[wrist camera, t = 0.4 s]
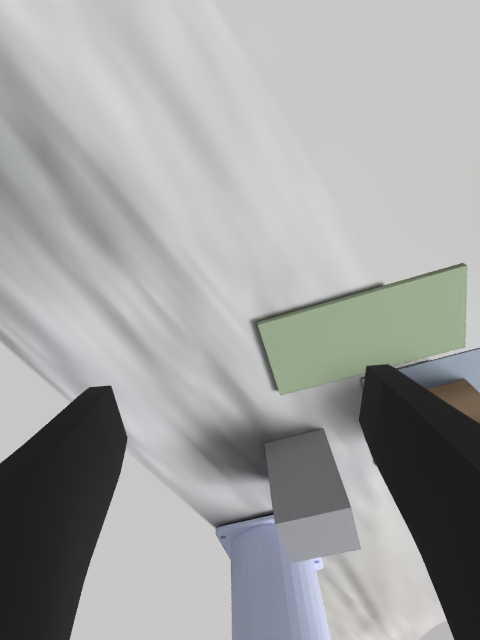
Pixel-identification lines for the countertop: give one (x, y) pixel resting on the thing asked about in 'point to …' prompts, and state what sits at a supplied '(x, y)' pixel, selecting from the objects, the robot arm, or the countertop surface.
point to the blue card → (446, 370)
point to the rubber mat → (368, 330)
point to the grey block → (309, 498)
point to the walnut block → (460, 397)
